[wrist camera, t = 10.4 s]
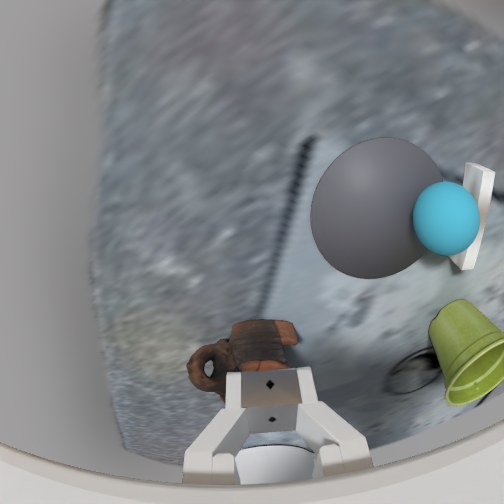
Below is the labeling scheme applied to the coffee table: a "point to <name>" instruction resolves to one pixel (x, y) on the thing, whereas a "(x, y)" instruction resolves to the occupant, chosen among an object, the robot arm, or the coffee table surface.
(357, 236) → the dark grey ellipsoid
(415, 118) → the coffee table surface
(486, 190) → the strip
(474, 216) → the ball
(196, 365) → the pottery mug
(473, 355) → the plant pot
